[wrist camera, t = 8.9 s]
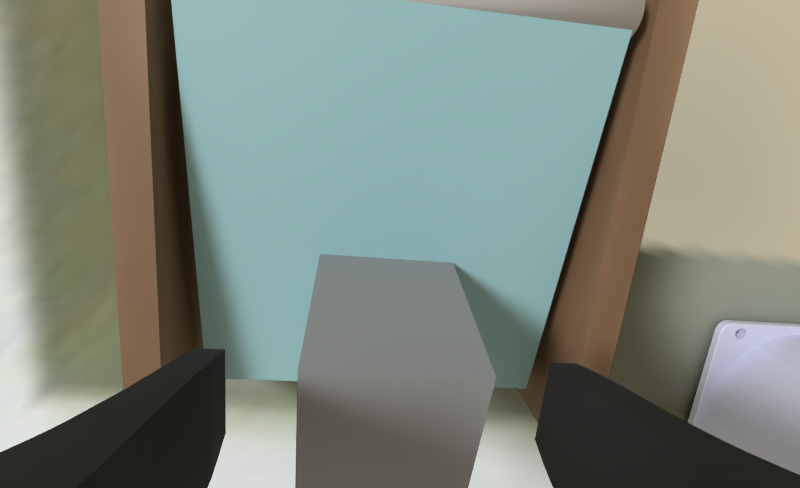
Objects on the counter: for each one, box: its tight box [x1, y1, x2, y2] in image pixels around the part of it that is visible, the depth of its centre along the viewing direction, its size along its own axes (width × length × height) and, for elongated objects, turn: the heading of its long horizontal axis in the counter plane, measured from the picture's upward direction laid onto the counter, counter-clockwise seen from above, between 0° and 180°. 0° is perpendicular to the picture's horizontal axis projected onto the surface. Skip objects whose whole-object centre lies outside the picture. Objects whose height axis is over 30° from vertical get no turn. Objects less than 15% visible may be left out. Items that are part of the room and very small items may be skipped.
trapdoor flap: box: [171, 0, 645, 389], centre depth 14 cm, size 11×17×4 cm, turn 175°
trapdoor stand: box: [97, 0, 699, 422], centre depth 15 cm, size 14×14×6 cm
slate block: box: [296, 254, 496, 488], centre depth 12 cm, size 4×4×5 cm
